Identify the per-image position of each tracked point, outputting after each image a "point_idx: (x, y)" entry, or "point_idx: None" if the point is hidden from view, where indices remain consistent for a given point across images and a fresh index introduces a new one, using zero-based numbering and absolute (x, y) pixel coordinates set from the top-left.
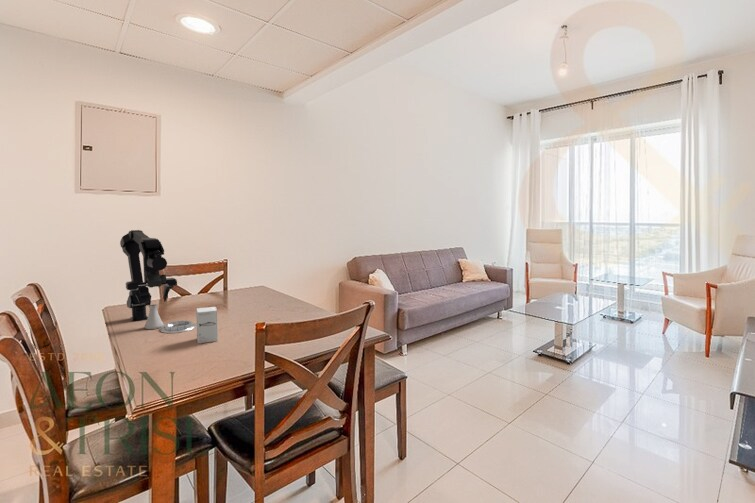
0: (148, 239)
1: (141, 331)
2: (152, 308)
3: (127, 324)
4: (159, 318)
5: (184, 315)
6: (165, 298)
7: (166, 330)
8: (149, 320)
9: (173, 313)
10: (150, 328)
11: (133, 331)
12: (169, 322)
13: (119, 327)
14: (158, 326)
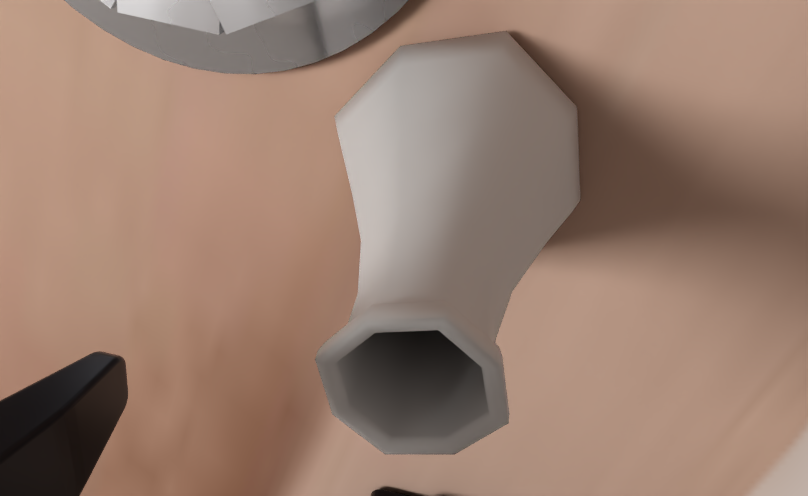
0: None
1: (681, 81)
2: (460, 303)
3: (604, 476)
4: (372, 161)
5: (36, 353)
6: (33, 402)
7: None
8: (539, 176)
9: (126, 482)
10: (547, 82)
11: (744, 171)
12: (265, 19)
13: (721, 443)
14: (437, 53)
